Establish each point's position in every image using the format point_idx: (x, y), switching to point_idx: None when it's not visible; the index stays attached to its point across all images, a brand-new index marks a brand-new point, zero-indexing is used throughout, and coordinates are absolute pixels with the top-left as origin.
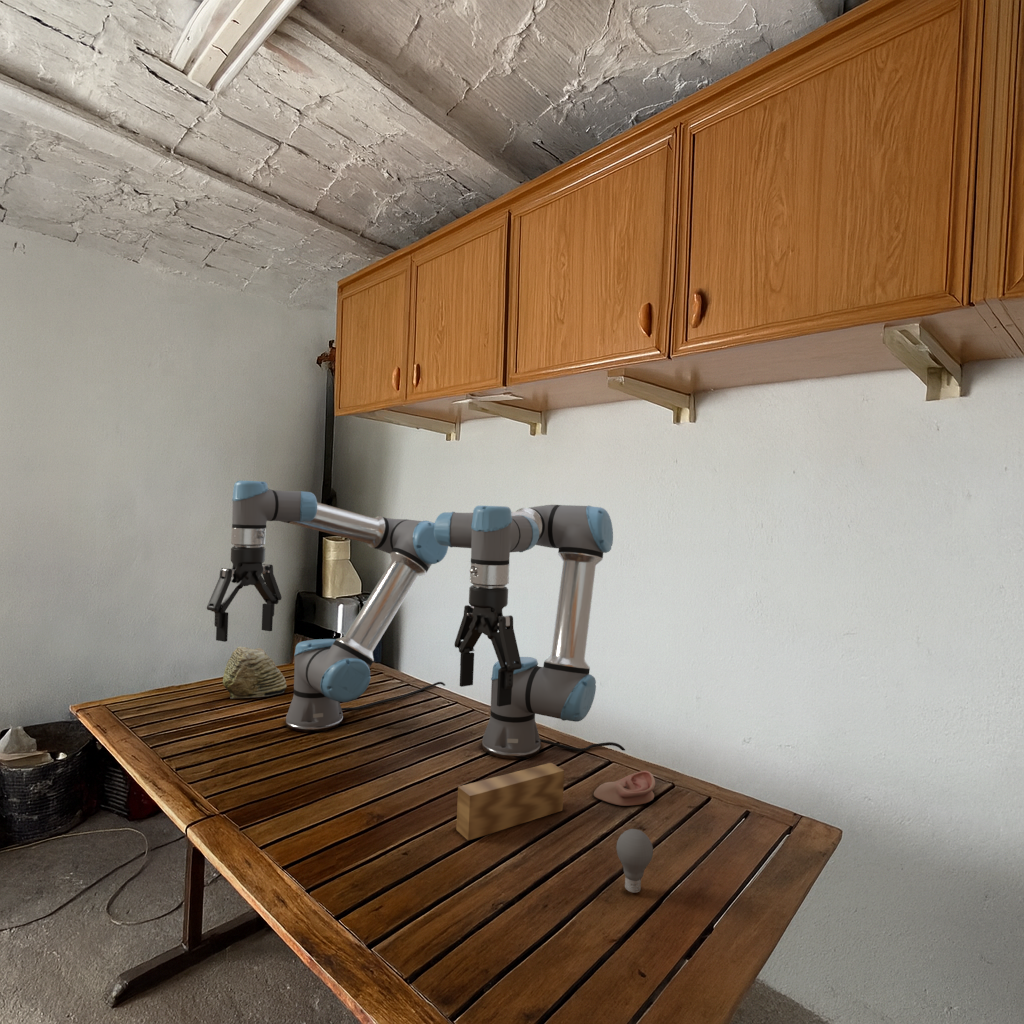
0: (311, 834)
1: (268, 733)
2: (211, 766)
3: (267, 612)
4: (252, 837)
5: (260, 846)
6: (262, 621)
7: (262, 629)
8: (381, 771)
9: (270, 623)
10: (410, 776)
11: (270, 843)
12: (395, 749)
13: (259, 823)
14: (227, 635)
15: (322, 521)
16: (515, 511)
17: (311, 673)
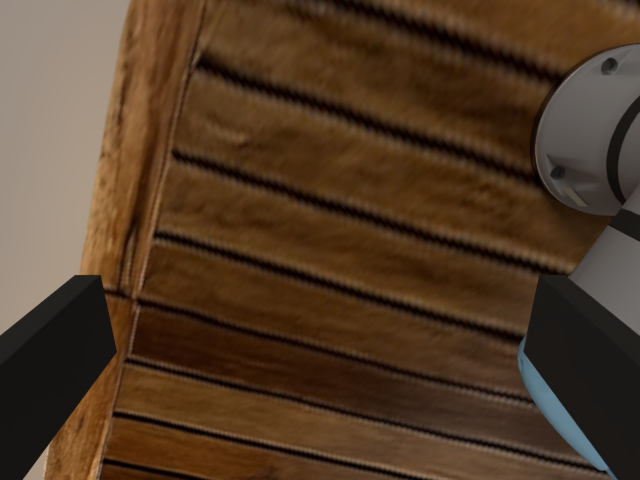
0: (180, 442)
1: (490, 77)
2: (256, 122)
3: (631, 446)
4: (123, 388)
5: (115, 411)
6: (578, 321)
7: (539, 287)
8: (407, 414)
9: (557, 396)
10: (410, 457)
11: (129, 416)
12: (511, 385)
13: (155, 370)
14: (96, 378)
15: None
16: None
17: (611, 269)
